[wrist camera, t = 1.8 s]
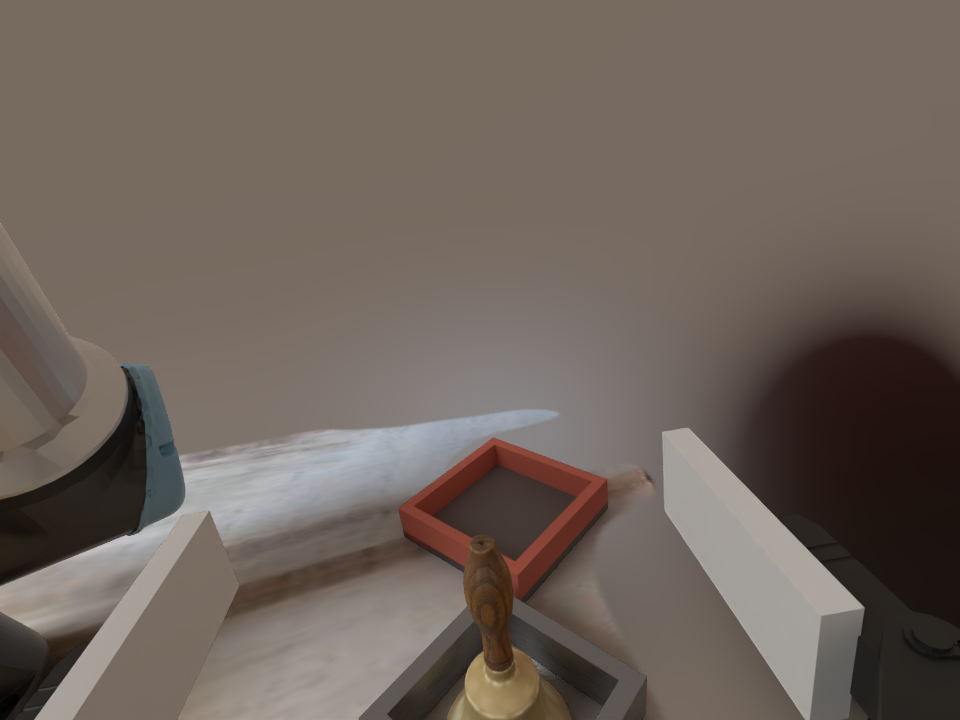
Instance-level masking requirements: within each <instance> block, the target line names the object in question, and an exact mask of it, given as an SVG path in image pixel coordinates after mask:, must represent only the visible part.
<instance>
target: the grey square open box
mask: <svg viewBox="0 0 960 720" xmlns="http://www.w3.org/2000/svg"><path fill="white" fill-rule="evenodd" d="M509 636H510V641H511V644H512V645H513V646H515V647H516V648H518V649H519V650H521V651H522V652H524V653H525V654H527V655H528V656H530V657H531V658H533V659H534V660H536V661H537V662H539V663H540V664H542V665H543V666H545V667H546V668H548V669H549V670H550V671H552V672H553V673H555V674H556V675H558V676H559V677H561V678H562V679H564V680H565V681H567V682H568V683H570V684H571V685H573V686H574V687H576V688H577V689H579V690H580V691H582V692H583V693H585V694H586V695H588V696H589V697H591V698H592V699H593V700H595V701H596V702H598V703H599V704H601V705H602V706H603V708H602V709H601V711H600V713H599V714H598V716H597V718H596V719H595V720H642V719H643V717H644V716H645V714H646V686H647V676H645V675H644V674H642V673H640V672H639V671H637V670H635V669H634V668H632V667H630V666H629V665H627V664H625V663H624V662H622V661H620V660H619V659H617V658H615V657H614V656H612V655H610V654H609V653H607V652H605V651H604V650H602V649H600V648H599V647H597V646H595V645H594V644H592V643H590V642H589V641H587V640H585V639H584V638H582V637H580V636H579V635H577V634H575V633H574V632H572V631H570V630H569V629H567V628H565V627H564V626H562V625H560V624H559V623H557V622H555V621H554V620H552V619H550V618H549V617H547V616H545V615H544V614H542V613H540V612H539V611H537V610H535V609H533V608H532V607H530V606H528V605H527V604H525V603H523V602H522V601H520V600H518V599H517V598H515V597H514V600H513V610H512V615H511V618H510V621H509ZM481 652H483V642H482V634H481V631H480V629H479V627H478V626H477V624H476V623H475V621H474V619H473V618H472V616H471V613H470V611H469V608H468V606H467V607H466V608H465V609H464V610H463V611H462V613H461V614H460V615H459V616H458V617H457V618H456V619H455V620H454V621H453V622H452V623H451V624H450V625H449V626H448V627H447V628H446V629H445V630H444V631H443V632H442V633H441V634H440V635H439V636H438V637H437V638H436V639H435V640H434V641H433V642H432V643H431V644H430V645H429V646H428V647H427V649H426V650H425V651H424V652H423V653H422V654H421V655H420V656H419V657H418V658H417V659H416V660H415V661H414V662H413V663H412V664H411V665H410V666H409V667H408V668H407V669H406V670H405V671H404V672H403V673H402V674H401V675H400V676H399V677H398V678H397V679H396V680H395V681H394V682H393V683H392V685H391V686H390V687H389V688H388V689H387V690H386V691H385V692H384V693H383V694H382V695H381V696H380V697H379V698H378V699H377V700H376V701H375V702H374V703H373V704H372V705H371V706H370V707H369V708H368V709H367V710H366V711H365V712H364V713H363V714H362V715H361V716H360V717H359V720H423V719H424V718H425V717H426V716H427V715H428V714H429V712H430V711H431V710H432V709H433V708H434V707H435V706H436V704H437V703H438V702H439V701H440V700H441V699H442V698H443V696H444V695H445V694H446V693H447V692H448V691H449V690H450V688H451V687H452V686H453V685H454V684H455V683H456V681H457V680H458V679H459V678H460V677H461V676H462V675H463V673H464V672H465V671H466V670H467V669H468V668H469V666H470V664H471V663H472V661H473V660H474V659H475V658H476V657H477V656H478V655H479V654H480V653H481Z"/></svg>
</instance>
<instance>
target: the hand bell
mask: <svg viewBox="0 0 960 720" xmlns="http://www.w3.org/2000/svg"><path fill="white" fill-rule="evenodd" d="M463 583H464V592H465V598H466V602H467V605H468V608H469V611H470V613H471V616H472V618H473V619H474V621H475V623H476V624H477V626H478V627H479V629H480V631H481V634H482V642H483V652H481V653H480V654H479V655H478V656H477V657H476V658H475V659H474V660H473V661H472V663H471V664H470V666H469V668H468V670H467V673H466V678H465V687H464V688H463V689H462V691H461V692H460V693H459V694H458V696H457V697H456V699H455V700H454V702H453V704H452V706H451V707H450V710H449V712H448V715H447V717H446V720H573V719H572V716H571V713H570V710H569V708H568V706H567V704H566V702H565V701H564V699H563V698H562V696H561V695H560V694H559V692H558V691H557V690H556V689H555V688H554V687H553V686H552V685H551V684H550V683H549V682H547V681H546V680H545V679H543V678H542V677H540V676H539V673H538V670H537V668H536V666H535V664H534V662H533V661H532V660H531V658H530V657H529V656H528V655H527V654H525V653H524V652H522V651H521V650H519V649H517V648H514V647H512V646H511V641H510V636H509V621H510V618H511V615H512V610H513V600H514V593H513V584H512V578H511V574H510V570H509V568H508V565H507V563H506V562H505V560H504V558H503V556H502V555H501V553H500V552H499V550H498V548H497V546H496V544H495V541H494V539H493V538H492V537H491V536H489V535H487V534H484V535H477V536H475V537H474V538H473V539H472V540H471V542H470V548H469V554H468V558H467V561H466V565H465V570H464V582H463Z"/></svg>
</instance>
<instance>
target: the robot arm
mask: <svg viewBox="0 0 960 720" xmlns="http://www.w3.org/2000/svg"><path fill="white" fill-rule="evenodd" d="M662 436H663V475H664V510H665V512H666V513H667V515H668V516H669V518H670V519H671V521H672V522H673V524H674V525H675V527H676V528H677V530H678V531H679V533H680V534H681V536H682V537H683V539H684V540H685V542H686V543H687V544H688V546H689V547H690V549H691V551H692V552H693V554H694V555H695V556H696V558H697V559H698V561H699V562H700V564H701V565H702V567H703V568H704V570H705V571H706V573H707V574H708V576H709V577H710V579H711V580H712V581H713V583H714V585H715V586H716V588H717V589H718V591H719V592H720V594H721V595H722V597H723V598H724V600H725V601H726V602H727V604H728V606H729V607H730V608H731V610H732V612H733V613H734V614H735V616H736V617H737V619H738V620H739V622H740V623H741V625H742V626H743V628H744V629H745V631H746V632H747V634H748V635H749V637H750V638H751V640H752V641H753V643H754V644H755V646H756V647H757V648H758V650H759V651H760V653H761V654H762V656H763V658H764V659H765V660H766V662H767V664H768V665H769V666H770V668H771V669H772V671H773V672H774V674H775V675H776V677H777V678H778V680H779V681H780V683H781V684H782V686H783V687H784V689H785V690H786V692H787V693H788V695H789V696H790V698H791V699H792V701H793V702H794V703H795V705H796V707H797V708H798V710H799V711H800V713H801V714H802V715H803V717H804V718H805V720H840V719H845V718H848V716H849V709H850V702H851V696H852V697H853V698H854V699H855V700H856V702H857V703H858V704H859V705H860V707H861V708H862V709H863V711H864V712H865V713H866V714H867V716H868V720H960V630H959V629H958V628H956V627H955V626H953V625H952V624H950V623H948V622H946V621H944V620H941V619H938V618H936V617H934V616H931V615H928V614H923V613H917V612H913V611H911V610H910V609H909V608H908V607H907V606H906V605H905V604H904V603H903V602H902V601H900V600H899V599H898V598H897V597H896V596H895V595H894V594H893V593H892V592H891V591H890V590H889V589H888V588H887V587H885V586H884V585H883V584H882V583H881V582H880V581H879V580H878V579H877V578H876V577H875V576H874V575H873V574H871V573H870V572H869V571H868V570H867V569H866V568H865V567H864V566H863V565H862V564H861V563H859V562H858V561H857V560H856V559H853V557H852V555H851V554H850V553H849V552H848V551H846V550H845V549H844V548H843V547H842V546H839V545H838V542H837V541H836V540H835V539H833V537H832V536H830V535H829V534H828V533H827V532H826V531H825V530H824V529H823V528H822V527H821V526H819V525H817V524H816V523H814V522H812V521H810V520H808V519H806V518H804V517H802V516H800V515H799V514H797V513H796V514H791V515H785V516H779V517H775V516H774V515H773V514H772V513H771V512H770V511H769V510H768V509H767V508H766V507H765V506H764V505H763V503H762V502H760V500H759V499H758V498H756V496H755V495H754V494H753V493H752V492H751V491H750V490H749V489H748V488H747V487H746V486H745V485H744V484H743V483H742V482H741V481H740V480H739V479H738V478H737V477H736V476H735V475H734V474H733V473H732V472H731V471H730V470H729V469H728V468H727V467H726V466H725V465H724V464H723V463H722V462H721V461H720V460H719V459H718V458H717V456H715V454H714V453H713V452H712V451H711V450H710V449H709V448H708V447H707V446H706V445H705V444H704V443H703V442H702V441H701V440H700V439H699V438H698V437H697V436H696V435H695V434H694V433H693V432H692V431H691V430H690V429H689V428H682V429H677V430H671V431H665V432H662ZM184 499H185V483H184V477H183V473H182V468H181V464H180V460H179V456H178V453H177V450H176V447H175V446H174V439H173V435H172V430H171V426H170V422H169V419H168V415H167V412H166V409H165V405H164V402H163V399H162V395H161V393H160V390H159V386H158V384H157V381H156V378H155V375H154V373H153V371H152V370H151V368H150V367H149V366H147V365H145V364H127V363H124V364H122V365H119V364H118V363H117V361H116V360H115V359H114V358H113V356H112V355H110V354H109V353H108V352H107V351H105V350H104V349H102V348H100V347H98V346H97V345H94V344H92V343H90V342H87V341H84V340H81V339H77V338H73V337H70V336H69V334H68V333H67V331H66V330H65V328H64V326H63V325H62V323H61V321H60V320H59V318H58V316H57V315H56V313H55V311H54V310H53V308H52V306H51V305H50V303H49V301H48V300H47V298H46V296H45V295H44V293H43V291H42V290H41V288H40V287H39V285H38V283H37V282H36V280H35V278H34V277H33V275H32V273H31V272H30V270H29V268H28V267H27V265H26V263H25V262H24V261H23V258H22V257H21V255H20V253H19V252H18V250H17V249H16V247H15V245H14V243H13V242H12V240H11V239H10V237H9V236H8V234H7V232H6V230H5V229H4V227H3V225H2V224H1V222H0V586H2V585H4V584H7V583H9V582H12V581H14V580H16V579H19V578H21V577H24V576H26V575H29V574H31V573H34V572H36V571H39V570H41V569H43V568H46V567H48V566H51V565H53V564H56V563H58V562H61V561H63V560H66V559H68V558H70V557H73V556H75V555H78V554H80V553H83V552H85V551H88V550H90V549H93V548H95V547H98V546H100V545H102V544H105V543H107V542H110V541H112V540H115V539H117V538H120V537H122V536H125V535H128V536H131V535H134V534H137V533H139V532H140V531H141V530H142V529H143V528H144V527H146V526H148V525H151V524H153V523H155V522H157V521H159V520H161V519H164V518H166V517H168V516H170V515H172V514H173V513H175V512H176V511H177V510H178V509H179V508H180V507H181V505H182V503H183V501H184ZM238 588H239V583H238V581H237V578H236V576H235V573H234V571H233V568H232V566H231V563H230V561H229V558H228V556H227V553H226V551H225V548H224V546H223V543H222V541H221V538H220V536H219V533H218V531H217V528H216V526H215V523H214V521H213V518H212V516H211V513H210V511H204V512H199V513H193V514H187V515H182V516H181V518H180V519H179V521H178V522H177V523H176V525H175V526H174V528H173V529H172V530H171V532H170V533H169V534H168V536H167V537H166V539H165V540H164V541H163V543H162V544H161V545H160V547H159V548H158V550H157V551H156V552H155V554H154V555H153V557H152V558H151V559H150V561H149V562H148V563H147V565H146V566H145V568H144V569H143V570H142V572H141V573H140V574H139V576H138V577H137V579H136V580H135V581H134V583H133V584H132V586H131V587H130V588H129V590H128V591H127V592H126V594H125V595H124V597H123V598H122V599H121V601H120V602H119V603H118V605H117V606H116V608H115V609H114V610H113V612H112V613H111V615H110V616H109V617H108V619H107V620H106V621H105V623H104V624H103V626H102V627H101V628H100V630H99V631H98V632H97V634H96V635H95V637H94V638H93V639H92V641H89V642H83V643H80V644H79V645H78V646H77V647H75V648H74V649H73V650H72V651H71V652H70V653H69V654H68V655H66V656H65V657H64V658H63V659H62V660H61V661H60V662H59V663H58V660H57V658H56V656H55V655H54V653H53V652H52V650H51V649H50V647H49V645H48V644H47V642H46V641H45V640H44V638H43V637H42V636H41V635H39V634H38V633H37V632H36V631H34V630H33V629H31V628H29V627H27V626H25V625H23V624H21V623H20V622H18V621H16V620H14V619H12V618H10V617H8V616H7V615H5V614H3V613H1V612H0V720H177V719H178V717H179V715H180V713H181V710H182V708H183V706H184V704H185V702H186V700H187V697H188V695H189V693H190V691H191V689H192V687H193V685H194V682H195V680H196V678H197V676H198V674H199V672H200V670H201V667H202V665H203V663H204V661H205V659H206V657H207V655H208V652H209V650H210V648H211V646H212V644H213V642H214V639H215V637H216V635H217V633H218V631H219V629H220V627H221V624H222V622H223V620H224V618H225V616H226V614H227V612H228V609H229V607H230V605H231V603H232V601H233V599H234V597H235V594H236V592H237V590H238Z"/></svg>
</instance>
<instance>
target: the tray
mask: <svg viewBox="0 0 960 720" xmlns="http://www.w3.org/2000/svg"><path fill="white" fill-rule="evenodd" d="M607 508H608V498H607V479H605V478H602V477H599V476H597V475H594V474H591V473H588V472H586V471H583V470H580V469H577V468H574V467H572V466H569V465H566V464H564V463H561V462H558V461H555V460H553V459H550V458H548V457H545V456H542V455H539V454H536V453H534V452H531V451H528V450H526V449H523V448H520V447H518V446H515V445H512V444H509V443H507V442H504V441H501V440H498V439H496V438H492V439H491V440H489V441H488V442H487V443H485V444H484V445H483V446H481V447H480V448H479V449H477V450H476V451H475V452H473V453H472V454H471V455H469V456H468V457H466V458H465V459H464V460H462V461H461V462H460V463H458V464H457V465H456V466H454V467H453V468H452V469H450V470H449V471H448V472H446V473H445V474H444V475H442V476H441V477H440V478H438V479H437V480H436V481H434V482H433V483H431V484H430V485H429V486H427V487H426V488H425V489H423V490H422V491H421V492H419V493H418V494H417V495H415V496H414V497H413V498H411V499H410V500H409V501H407V502H406V503H405V504H403V505H402V506H401V507H399V508H398V509H399V514H400V518H401V523H402V527H403V532H404V536H405V537H407V538H408V539H410V540H411V541H413V542H415V543H416V544H418V545H420V546H421V547H423V548H425V549H426V550H428V551H430V552H431V553H433V554H434V555H436V556H438V557H439V558H441V559H443V560H444V561H446V562H448V563H449V564H451V565H452V566H454V567H456V568H457V569H459V570H461V571H462V572H464V570H465V565H466V561H467V558H468V554H469V548H470V542H471V540H472V539H473V538H474V537H475V536H477V535H484V534H487V535H489V536H491V537H492V538H493V539H494V541H495V544H496V546H497V548H498V550H499V552H500V553H501V555H502V556H503V558H504V560H505V562H506V563H507V565H508V568H509V570H510V574H511V578H512V584H513V593H514V597H515V598H517V599H518V600H520V601H522V602H523V603H525V602H526V601H527V600H528V599H529V598H530V597H531V595H532V594H533V593H534V592H535V591H536V590H537V589H538V587H539V586H540V585H541V584H542V583H543V582H544V581H545V579H546V578H547V577H548V576H549V575H550V574H551V573H552V571H553V570H554V569H555V568H556V567H557V566H558V564H559V563H560V562H561V561H562V560H563V559H564V558H565V556H566V555H567V554H568V553H569V552H570V551H571V550H572V548H573V547H574V546H575V545H576V544H577V543H578V542H579V540H580V539H581V538H582V537H583V536H584V535H585V534H586V532H587V531H588V530H589V529H590V528H591V527H592V525H593V524H594V523H595V522H596V521H597V520H598V519H599V517H600V516H601V515H602V514H603V513H604V512H605V511H606V509H607Z"/></svg>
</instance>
